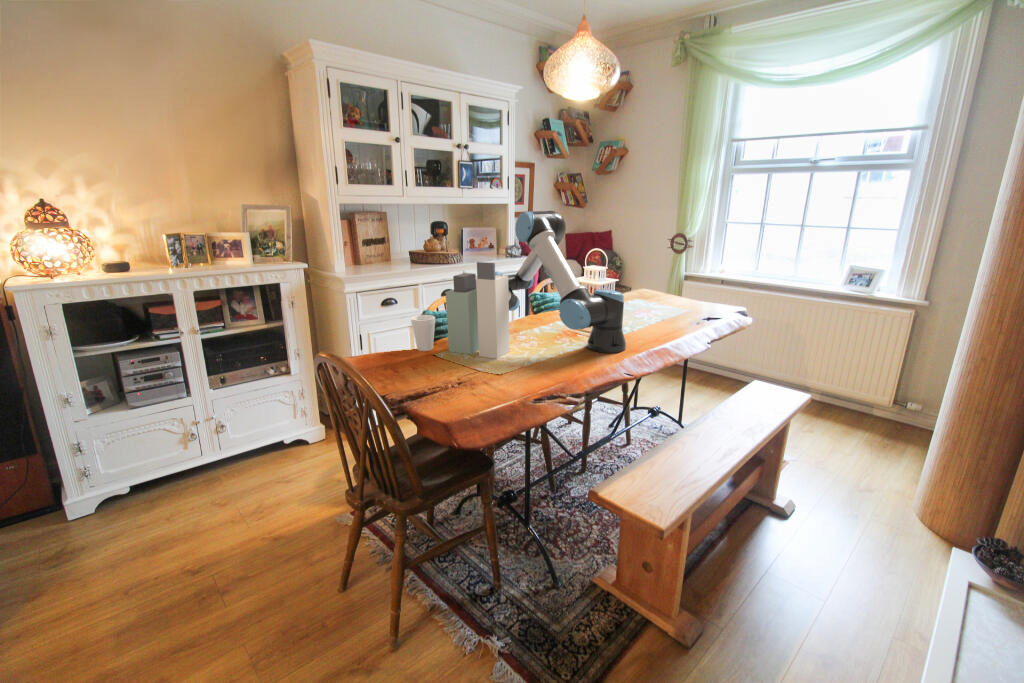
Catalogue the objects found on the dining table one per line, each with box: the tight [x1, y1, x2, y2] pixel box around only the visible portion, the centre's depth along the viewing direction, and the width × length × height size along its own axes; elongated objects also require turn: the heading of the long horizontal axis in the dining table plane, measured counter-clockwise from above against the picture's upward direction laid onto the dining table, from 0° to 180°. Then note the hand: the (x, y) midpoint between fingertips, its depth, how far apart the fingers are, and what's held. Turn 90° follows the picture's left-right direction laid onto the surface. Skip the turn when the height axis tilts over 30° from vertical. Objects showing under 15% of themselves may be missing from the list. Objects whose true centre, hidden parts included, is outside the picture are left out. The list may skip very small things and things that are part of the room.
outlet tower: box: [476, 261, 511, 360], centre depth 179 cm, size 8×10×36 cm
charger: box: [452, 272, 477, 292], centre depth 187 cm, size 5×18×6 cm, turn 153°
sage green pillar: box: [445, 289, 479, 355], centre depth 186 cm, size 10×10×24 cm
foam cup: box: [410, 314, 436, 352], centre depth 190 cm, size 10×9×13 cm
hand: (477, 275), depth 190 cm, fingers open, 13 cm apart
